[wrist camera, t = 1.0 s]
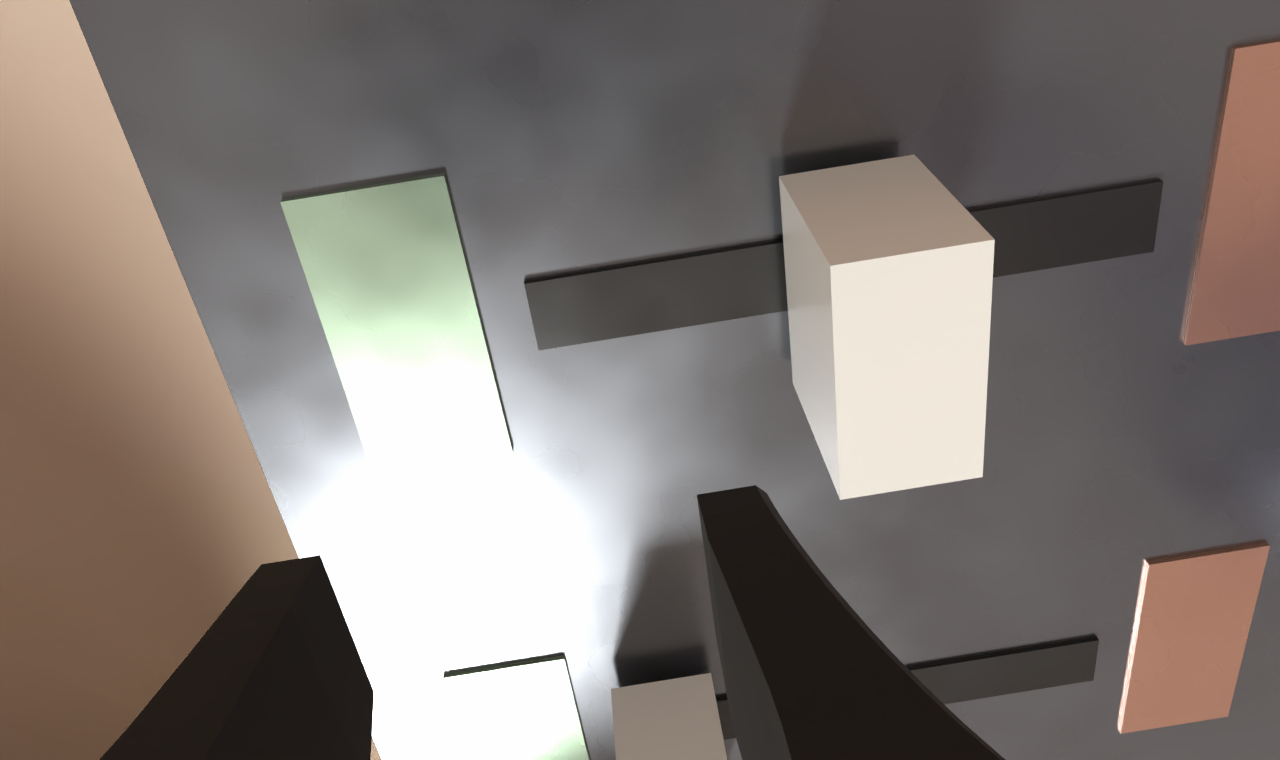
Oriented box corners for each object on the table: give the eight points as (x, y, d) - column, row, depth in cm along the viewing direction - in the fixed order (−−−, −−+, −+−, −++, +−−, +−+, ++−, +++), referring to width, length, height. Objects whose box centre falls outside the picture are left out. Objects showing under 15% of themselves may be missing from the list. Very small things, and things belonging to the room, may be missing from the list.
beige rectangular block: (914, 154, 15) (994, 240, 12) (913, 364, 17) (982, 476, 14) (778, 176, 15) (830, 265, 12) (792, 383, 17) (839, 499, 14)
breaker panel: (1500, -362, 14) (1638, -380, 12) (1221, 756, 27) (1270, 827, 25) (82, -135, 14) (16, -120, 12) (466, 878, 27) (461, 958, 25)
